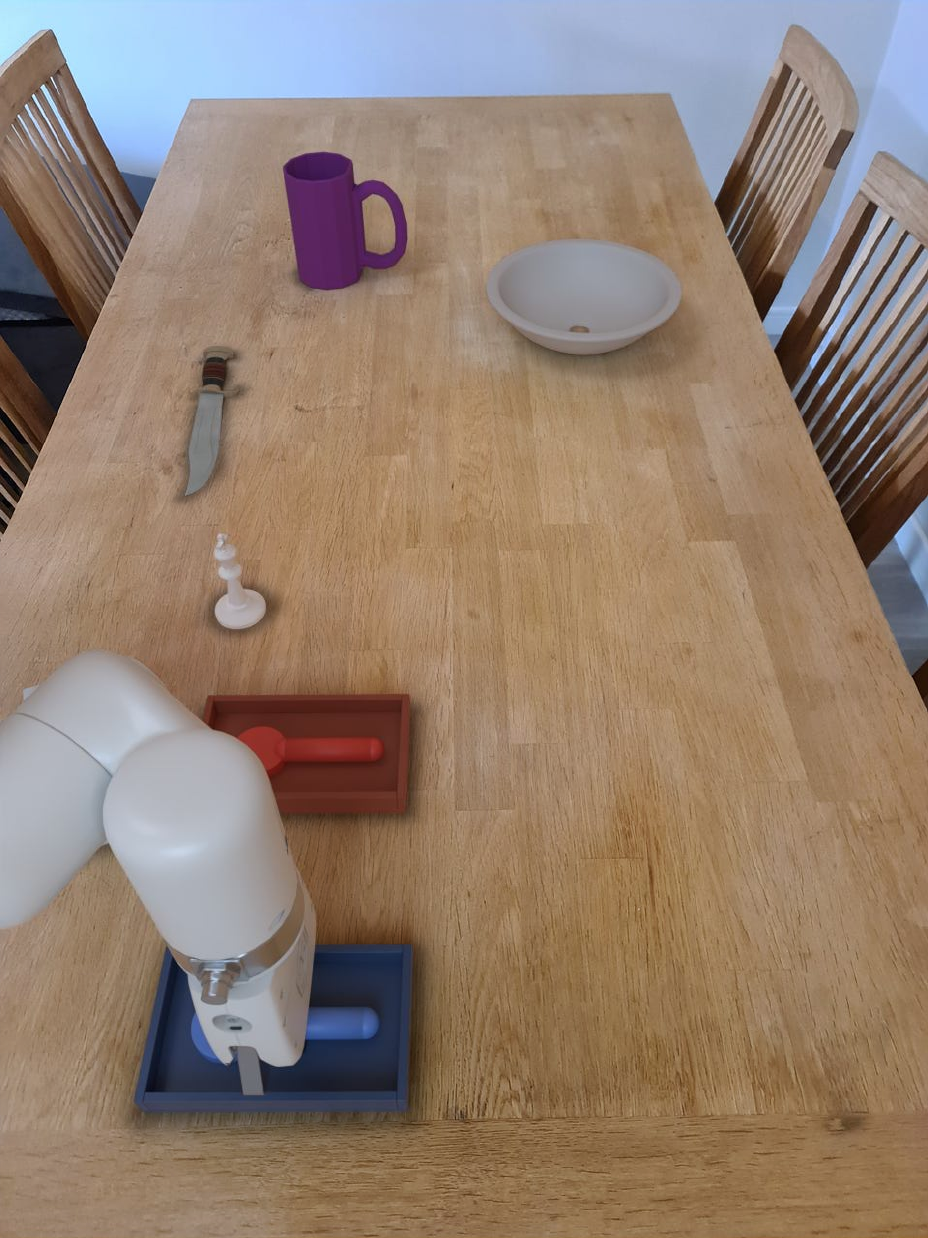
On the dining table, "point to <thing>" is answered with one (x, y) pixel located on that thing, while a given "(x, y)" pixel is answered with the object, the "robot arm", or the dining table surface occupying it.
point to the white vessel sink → (583, 294)
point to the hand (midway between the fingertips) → (284, 1028)
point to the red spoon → (307, 748)
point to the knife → (208, 417)
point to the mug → (335, 220)
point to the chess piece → (235, 591)
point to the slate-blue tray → (328, 1066)
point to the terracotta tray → (328, 718)
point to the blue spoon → (312, 1027)
